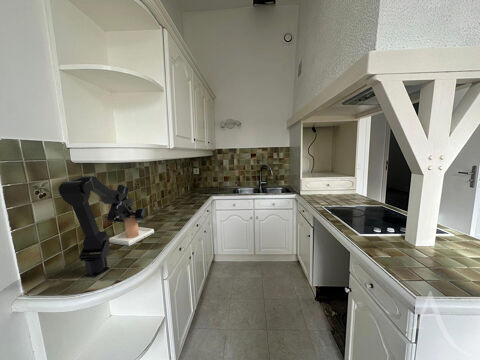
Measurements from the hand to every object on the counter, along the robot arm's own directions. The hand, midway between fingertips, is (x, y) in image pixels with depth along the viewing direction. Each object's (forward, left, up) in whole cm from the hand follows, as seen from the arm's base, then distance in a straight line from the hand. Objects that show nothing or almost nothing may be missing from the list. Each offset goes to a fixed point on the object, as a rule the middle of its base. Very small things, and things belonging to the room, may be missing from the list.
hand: (132, 221), depth 119 cm
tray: (-1, -1, -9) cm, 9 cm away
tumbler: (-1, -1, -8) cm, 8 cm away
